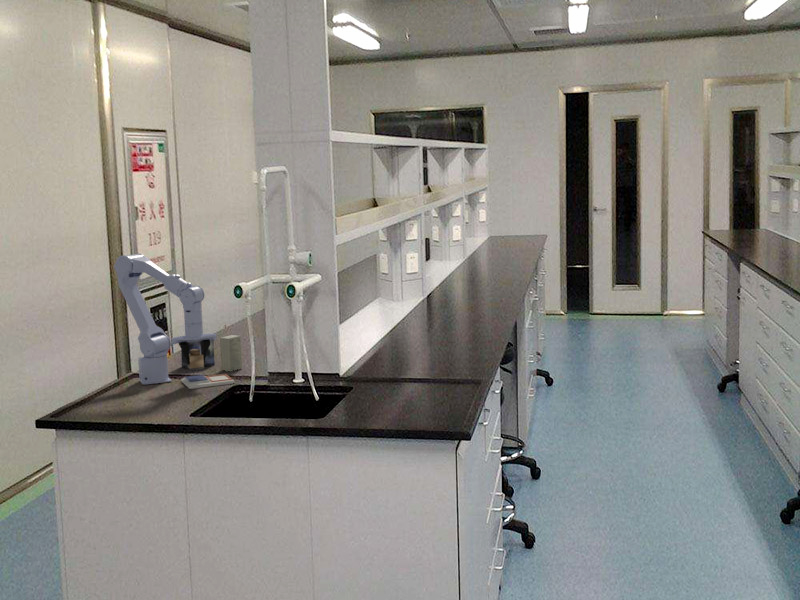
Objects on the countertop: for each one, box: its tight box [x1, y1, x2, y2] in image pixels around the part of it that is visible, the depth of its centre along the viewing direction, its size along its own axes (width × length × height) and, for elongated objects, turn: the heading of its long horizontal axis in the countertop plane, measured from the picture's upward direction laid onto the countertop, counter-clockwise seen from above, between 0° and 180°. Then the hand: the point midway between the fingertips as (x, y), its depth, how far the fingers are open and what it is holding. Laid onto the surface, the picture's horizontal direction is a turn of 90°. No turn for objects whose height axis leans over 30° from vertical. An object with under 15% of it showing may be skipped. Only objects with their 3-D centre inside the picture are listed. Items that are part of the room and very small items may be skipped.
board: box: [181, 373, 236, 390], centre depth 287 cm, size 15×12×2 cm
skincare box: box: [219, 334, 243, 372], centre depth 306 cm, size 6×4×12 cm
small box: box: [180, 339, 215, 370], centre depth 314 cm, size 11×6×10 cm, turn 129°
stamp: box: [188, 349, 205, 371], centre depth 285 cm, size 4×4×6 cm
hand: (195, 363), depth 285 cm, fingers closed on stamp, 4 cm apart
